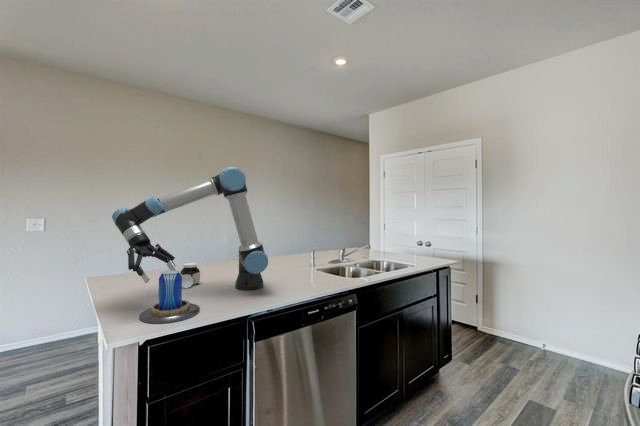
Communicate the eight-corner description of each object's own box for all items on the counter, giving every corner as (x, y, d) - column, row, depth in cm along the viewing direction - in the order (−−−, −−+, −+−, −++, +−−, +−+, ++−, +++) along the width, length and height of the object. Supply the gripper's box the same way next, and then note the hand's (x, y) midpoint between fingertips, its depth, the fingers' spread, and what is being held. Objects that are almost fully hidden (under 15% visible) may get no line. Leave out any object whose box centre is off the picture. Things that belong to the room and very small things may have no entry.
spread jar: (196, 282, 175) (196, 262, 175) (204, 285, 167) (204, 265, 167) (174, 285, 167) (174, 264, 167) (181, 289, 159) (181, 267, 159)
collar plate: (191, 301, 138) (191, 294, 138) (206, 315, 121) (206, 307, 121) (135, 311, 125) (135, 303, 125) (143, 328, 108) (143, 318, 108)
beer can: (159, 309, 125) (159, 270, 125) (181, 306, 129) (182, 269, 128) (157, 315, 118) (157, 274, 117) (181, 313, 121) (181, 273, 121)
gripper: (158, 241, 142) (182, 276, 136) (102, 248, 118) (129, 290, 113) (166, 231, 140) (191, 265, 134) (111, 235, 116) (139, 277, 111)
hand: (163, 277), depth 124 cm, fingers open, 13 cm apart
